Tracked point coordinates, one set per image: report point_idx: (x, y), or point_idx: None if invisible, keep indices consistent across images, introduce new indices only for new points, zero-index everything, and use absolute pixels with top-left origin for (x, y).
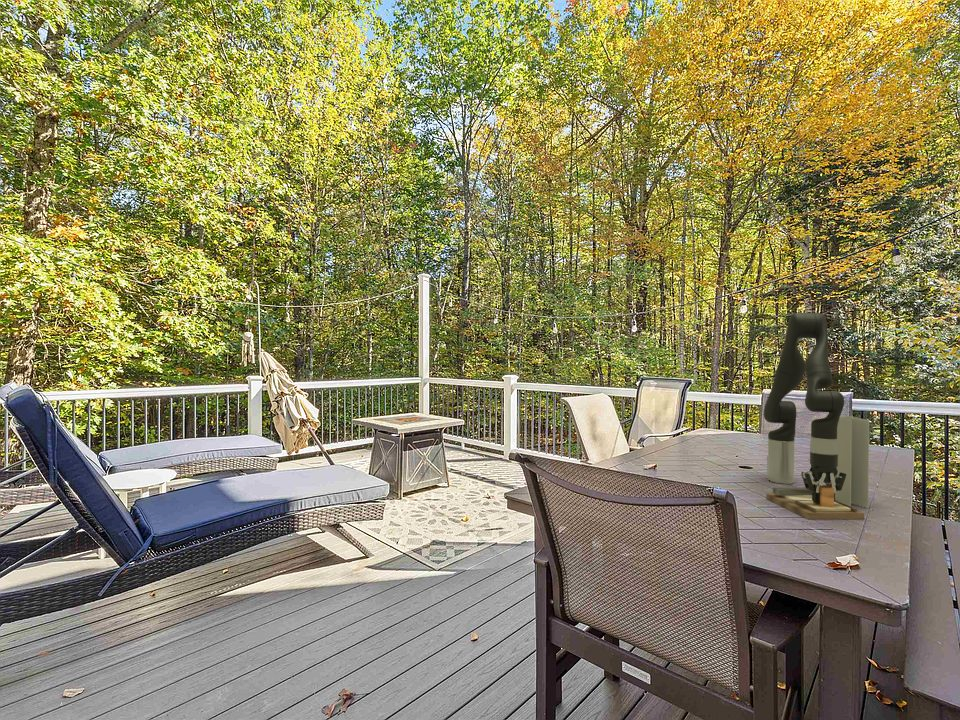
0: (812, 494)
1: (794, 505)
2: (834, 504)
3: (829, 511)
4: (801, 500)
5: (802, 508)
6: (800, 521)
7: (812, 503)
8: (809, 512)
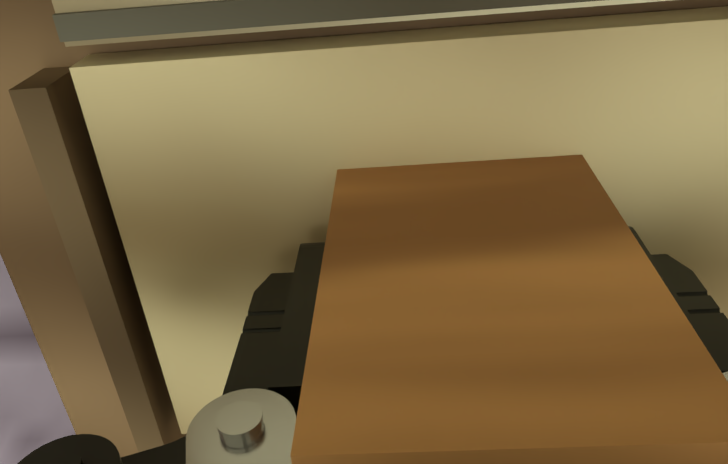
0: (235, 376)
1: (5, 163)
2: (682, 243)
3: None
4: (176, 22)
5: (83, 299)
6: (7, 445)
7: (301, 207)
8: (111, 437)
